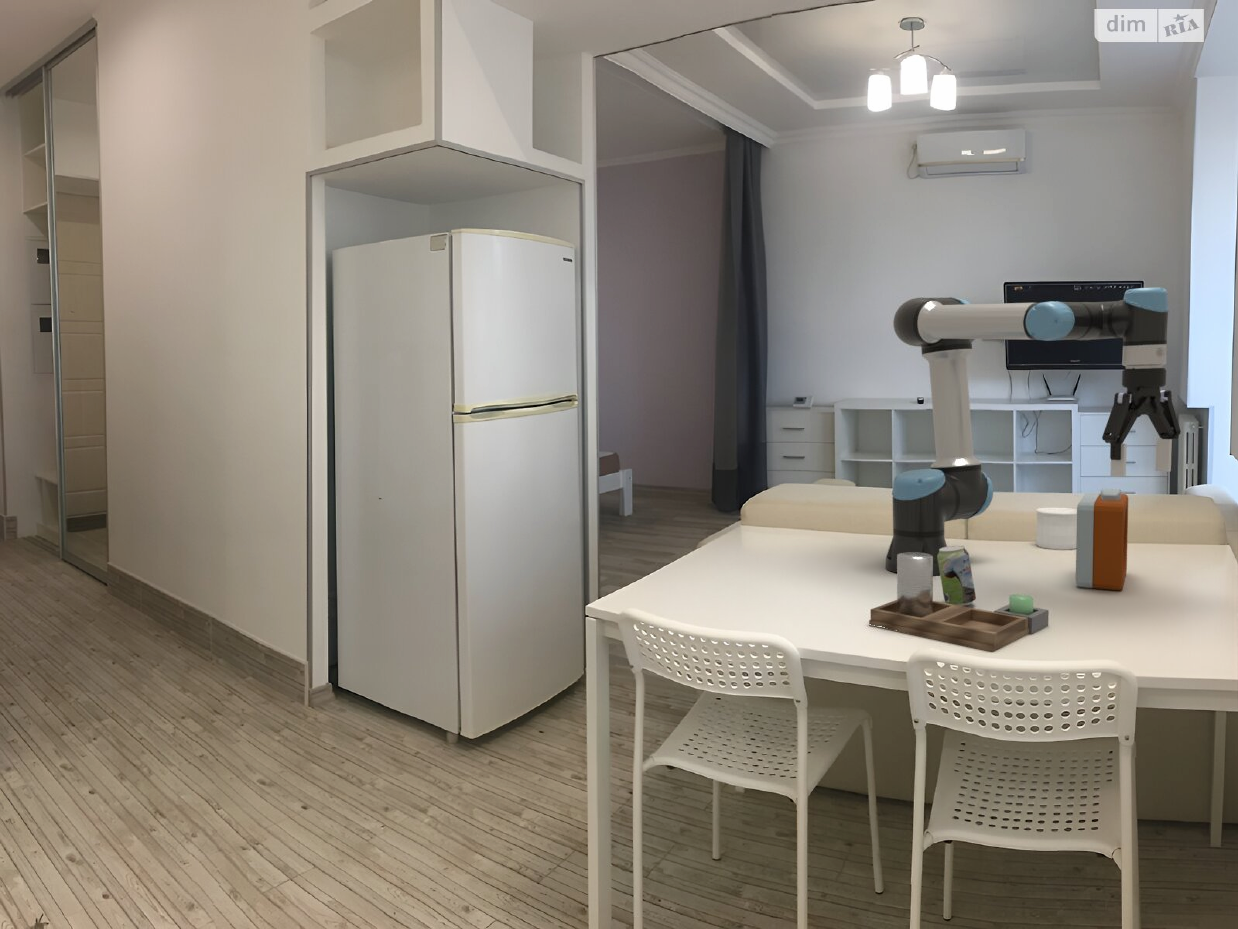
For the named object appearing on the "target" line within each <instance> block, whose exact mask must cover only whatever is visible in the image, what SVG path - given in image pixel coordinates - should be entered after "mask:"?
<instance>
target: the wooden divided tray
mask: <svg viewBox="0 0 1238 929" xmlns="http://www.w3.org/2000/svg"><path fill="white" fill-rule="evenodd" d="M869 624H871V625H875V626H882V627H885V628H888V629H891V630H890V631H893V630H897V631H896V632H898V631H900V632H899V633H902V632H903V633H904V634H907V633H908V634H909V635H913V636H918V637H921V638H926V639H931V640H936V641H941V642H946V643H950V644H955V645H959V646H960V645H961V646H964V647H969V648H973V649H978V650H982V651H986V652H987V651H988V652H992V653H994V652H996V651H997V650H1000V649H1002V648H1003V647H1005V646H1007V645H1009V644H1011V643H1014V642H1016V641H1017V640H1019V639H1022V638H1023V637H1025V636H1027V635H1030V634H1029V628H1028V618H1026V617H1020V616H1015V615H1009V614H1003V613H998V612H994V611H992V610H985V609H981V608H976V607H975V608H974V607H969V606H959V605H953V604H948V603H946V602H943V601H942V602H941V601H936V600H935V601H934V600H933V613H932V614H930V615H927V616H925V617H923V618H920V617H915V616H910V615H905V614H900V613H897V599H895V600H892V601H890V602H887V603H884V604H882V605H879V606H876V607H873V608H870V619H869V621H868V625H869ZM888 629H887V630H888ZM908 634H907V635H908Z"/></svg>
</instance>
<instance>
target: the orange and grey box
mask: <svg viewBox="0 0 1238 929" xmlns="http://www.w3.org/2000/svg"><path fill="white" fill-rule="evenodd" d="M1076 506H1077V507H1076V510H1077V536H1076V548H1075V551H1076V552H1075V584H1076V586H1077V587H1078V588H1083V589H1096V590H1105V591H1106V590H1108V591H1117V592H1118V591H1122V590H1123V587H1124V584H1125V580H1126V577H1127V576H1126V575H1127V569H1128V568H1127V566H1128V532H1129V531H1128V530H1129V529H1128V527H1129V496H1128V494H1126V493H1122V489H1121V488H1105V487H1103V488H1101V489H1100V492H1086V493H1084V494H1083V496H1082V497H1081V499H1080V501H1079V502H1078V504H1077V505H1076Z"/></svg>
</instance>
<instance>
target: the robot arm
mask: <svg viewBox="0 0 1238 929" xmlns="http://www.w3.org/2000/svg"><path fill="white" fill-rule="evenodd" d="M1169 311H1170V309H1169V293H1168V290H1167V289H1166V288H1164V287H1158V286H1157V287H1156V286H1155V287H1140V288H1130V289H1126V291H1125V292H1124V296H1123V299H1121V300H1116V301H1115V300H1114V301H1097V302H1092V301H1091V302H1090V301H1084V302H1082V301H1081V302H1080V301H1078V302H1077V301H1073V302H1071V301H1069V302H1067V301H1058V300H1057V301H1049V300H1048V301H1044V302H1042V301H1041V302H1013V303H1011V302H1010V303H1009V302H1008V303H1006V302H1005V303H976V304H975V303H973V304H972V303H970V302H969V301H967V300H965V299H962V298H956V297H952V296H951V297H950V296H949V297H914V298H911V299H909V300H907V301H905V302H904V303H902V304H901V305H899V307H898V308H897V310H896V312H895V314H894V317H893V328H894V329H893V330H894V332H895V335H896V336H897V338H898V339H899V340H900V341H901V342H902V343H904V344H906V345H909V346H913V347H919V348H920V349H921V357H922V358H923V359H925V360H926V361H927V362H928V365H929V367H928V368H929V378H930V391H931V405H932V406H931V407H932V417H933V419H932V420H933V431H934V432H933V434H934V442H935V445H934V446H935V456H936V458H935V460H934V462H932V463H931V465H930V468H920V469H912V470H907V471H904V472H901V473H898V474H897V475H896V476H895V477H894V479H893V481H892V482H893V485H892V487H893V488H892V491H891V495H892V537H891V538H892V539H891V542H890V544H889V548H888V551H887V553H886V557H885V569H886V568H887V569H888V570H887V569H886V570H887V571H889V570H890V571H889V572H893V573H896V572H897V555H898V554H900V553H907V552H918V553H926V554H930V555H932V556H933V576H940V571H939V565H938V559H937V555H938V553H939V549H940V548H943V547H948V543H947V541H946V538H945V522H951V521H956V520H968V519H971V518H974V517H976V516H977V517H978V516H980V515H981V514H983V513H984V512H985V511H986V510H987V509H988V508H989V506H991V503H992V501H993V497H994V485H993V482H992V480H991V478H990V477H988V474H987V473H986V472H984V471H982V462H981V461H980V460H978V459H977V457H975V456H974V446H973V445H974V442H973V430H972V418H971V404H970V394H969V393H970V391H969V379H968V366H967V357H969V355H971V353H972V352H973V344H972V343H973V342H975V340H1032V341H1033V340H1034V341H1035V340H1036V341H1046V342H1049V341H1050V342H1051V341H1054V342H1055V341H1066V340H1069V341H1071V340H1073V341H1074V340H1075V341H1091V340H1105V339H1106V340H1108V339H1122V361H1121V365H1122V366H1123V367H1125V368H1124V369H1123V370H1122V372H1121V374H1122V375H1121V386H1122V387H1123V388H1126V389H1127V390H1126V392H1116V393H1115V394H1114V399H1113V405H1112V408H1111V411H1110V414H1109V417H1108V420H1107V421H1106V422H1107V423H1106V425H1105V427H1104V431H1103V434H1102V436H1101V439H1102V440H1103V441H1104V442H1105V443H1106V444H1109V445H1110V449H1109V450H1110V453H1109V454H1110V455H1109V458H1110V477H1118V478H1126V476H1127V448H1128V447H1127V443H1124V442H1125V440H1126V438H1127V436H1128V435H1129V433H1130V431H1131V430H1132V428H1133V426H1134V424H1135V423H1136V421H1137V419H1138V418H1140V417H1141V416H1142V415H1143V416H1144V415H1145V416H1147V417H1148V418H1149V420H1150V422H1151V424H1152V425H1153V427H1154V429H1155V431H1156V433H1157V435H1158V436H1159V438H1156V442H1155V443H1156V444H1155V445H1156V447H1155V471H1156V472H1157V471H1158V472H1168V473H1169V472H1171V471H1172V452H1173V440H1178V438H1179V436H1180V434H1181V432H1182V430H1181V428H1180V424H1179V421H1178V417H1177V414H1176V411H1175V407H1174V404H1173V399H1172V391H1171V390H1169V389H1167V390H1165V389H1164V390H1163V389H1162V390H1161V389H1160V388H1163V387H1165V386H1166V385H1167V369H1166V367H1163V366H1165V365H1166V364H1167V344H1168V340H1167V338H1168V321H1169V320H1168V319H1169V318H1168V317H1169Z"/></svg>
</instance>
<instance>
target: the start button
mask: <svg viewBox="0 0 1238 929" xmlns="http://www.w3.org/2000/svg"><path fill="white" fill-rule="evenodd" d="M1008 602H1009V604H1008V605H1009V612H1013V613H1018V614H1024V615H1030V614H1032V613H1033V607H1034V597H1033V596H1031V595H1026V594H1011V595H1009V600H1008Z"/></svg>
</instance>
